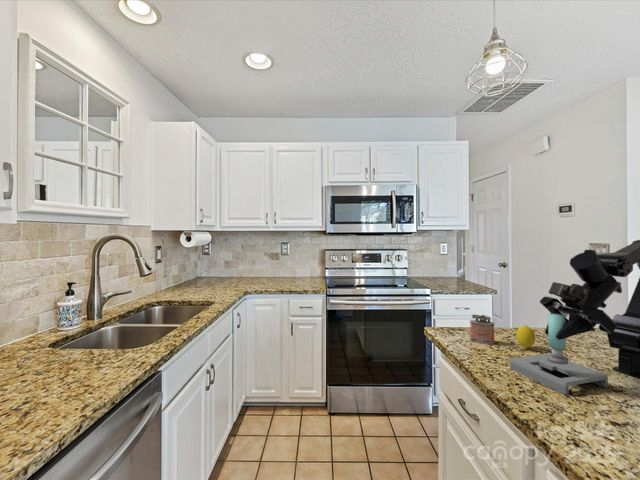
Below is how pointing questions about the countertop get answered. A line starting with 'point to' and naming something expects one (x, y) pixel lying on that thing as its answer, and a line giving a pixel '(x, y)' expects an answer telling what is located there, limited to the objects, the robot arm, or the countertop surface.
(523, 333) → the lemon
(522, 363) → the keyhole plate
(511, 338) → the countertop surface
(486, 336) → the lighter
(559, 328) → the peg
